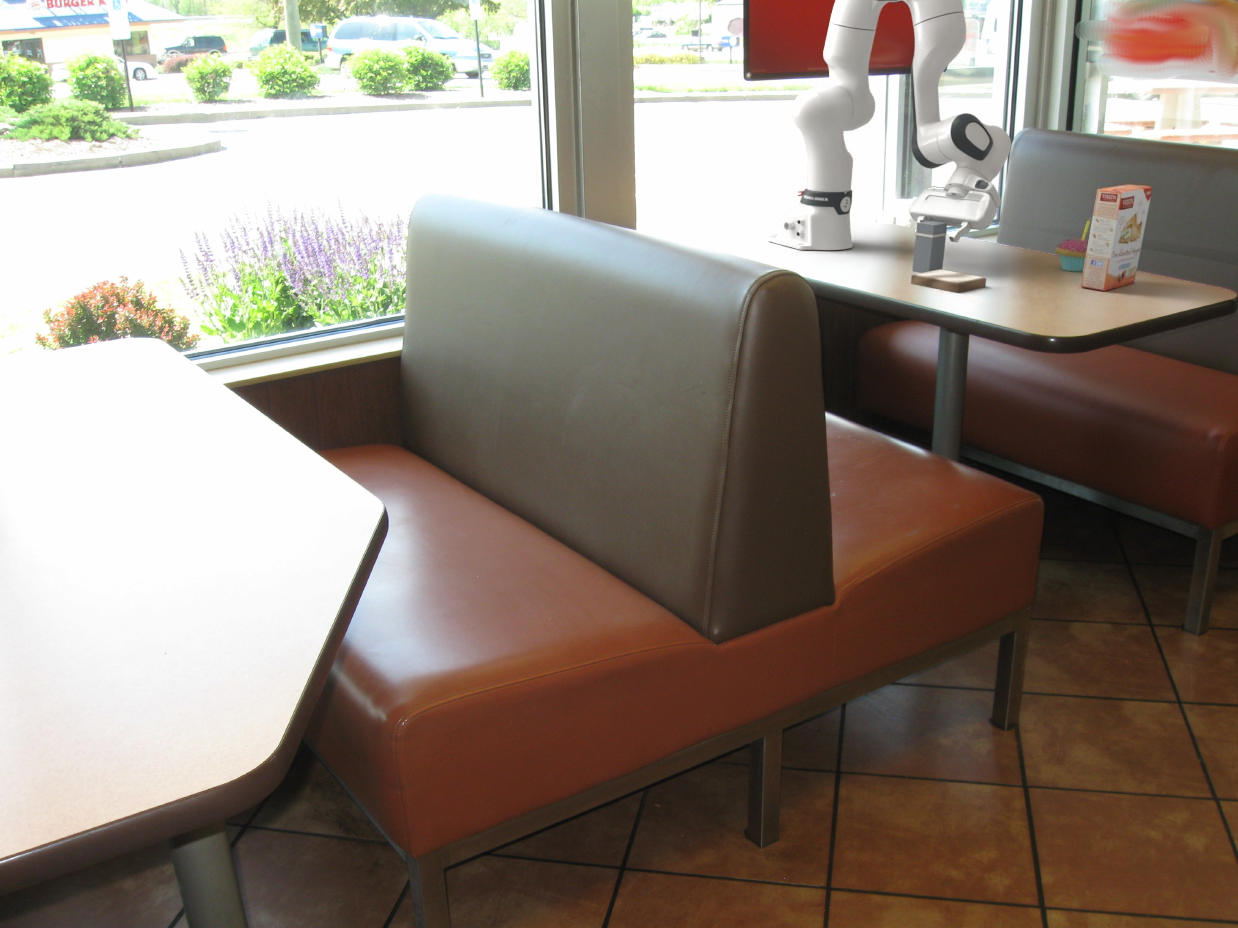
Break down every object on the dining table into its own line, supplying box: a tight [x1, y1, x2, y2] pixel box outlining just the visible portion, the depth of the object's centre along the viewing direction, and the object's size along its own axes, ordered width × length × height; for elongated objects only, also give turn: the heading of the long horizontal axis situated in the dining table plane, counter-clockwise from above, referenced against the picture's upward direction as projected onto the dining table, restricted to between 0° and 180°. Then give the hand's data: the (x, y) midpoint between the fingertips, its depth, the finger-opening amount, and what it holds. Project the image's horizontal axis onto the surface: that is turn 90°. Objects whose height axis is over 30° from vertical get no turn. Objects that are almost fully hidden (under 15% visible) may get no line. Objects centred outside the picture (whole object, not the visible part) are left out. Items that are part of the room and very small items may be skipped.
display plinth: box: [910, 269, 987, 294], centre depth 237 cm, size 12×10×2 cm
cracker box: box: [1080, 184, 1153, 292], centre depth 234 cm, size 14×6×21 cm, turn 131°
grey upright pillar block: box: [912, 221, 948, 274], centre depth 250 cm, size 5×5×11 cm
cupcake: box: [1055, 217, 1092, 272], centre depth 251 cm, size 9×8×12 cm
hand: (935, 237), depth 249 cm, fingers open, 8 cm apart
